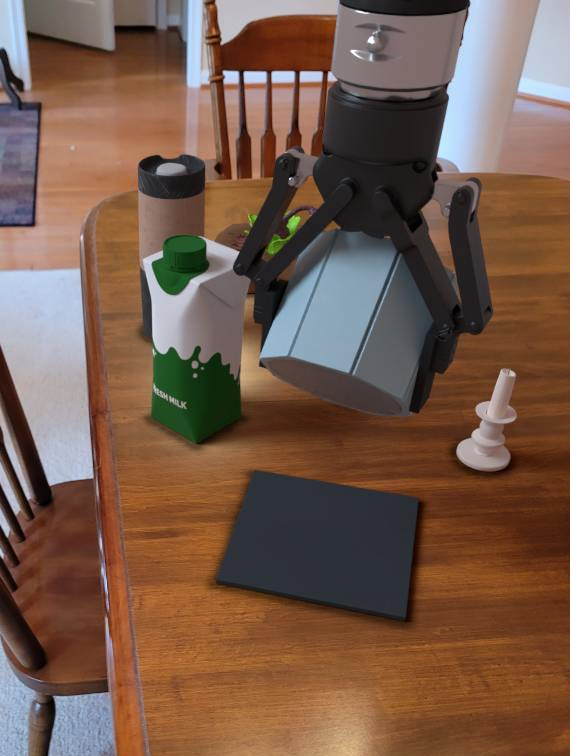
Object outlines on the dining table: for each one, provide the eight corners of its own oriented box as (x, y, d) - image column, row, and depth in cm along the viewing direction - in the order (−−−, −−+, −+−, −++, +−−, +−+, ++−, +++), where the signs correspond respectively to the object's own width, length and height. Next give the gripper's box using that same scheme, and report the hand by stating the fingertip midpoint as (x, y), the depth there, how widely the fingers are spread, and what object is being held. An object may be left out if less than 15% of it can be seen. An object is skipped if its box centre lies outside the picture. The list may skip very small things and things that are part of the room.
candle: (494, 438, 87) (522, 350, 80) (518, 468, 83) (550, 378, 76) (447, 444, 87) (471, 355, 80) (469, 474, 83) (496, 384, 76)
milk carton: (138, 417, 91) (132, 236, 77) (196, 386, 95) (200, 210, 82) (196, 451, 86) (201, 265, 72) (254, 416, 91) (269, 235, 77)
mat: (417, 501, 80) (418, 497, 79) (404, 621, 69) (406, 617, 68) (253, 473, 83) (254, 469, 83) (215, 583, 72) (215, 579, 72)
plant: (347, 241, 124) (358, 163, 117) (345, 301, 110) (357, 217, 103) (214, 232, 127) (216, 155, 119) (195, 290, 113) (196, 207, 105)
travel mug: (173, 351, 101) (174, 181, 87) (128, 330, 105) (122, 165, 91) (214, 328, 105) (220, 163, 92) (169, 309, 109) (169, 147, 95)
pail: (325, 281, 73) (294, 217, 62) (461, 314, 68) (453, 251, 57) (283, 388, 74) (245, 343, 62) (415, 428, 69) (399, 387, 58)
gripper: (192, 71, 55) (187, 362, 69) (579, 130, 45) (479, 451, 60) (244, 47, 59) (230, 324, 74) (605, 96, 50) (507, 402, 64)
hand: (341, 381), depth 67 cm, fingers closed on pail, 12 cm apart
